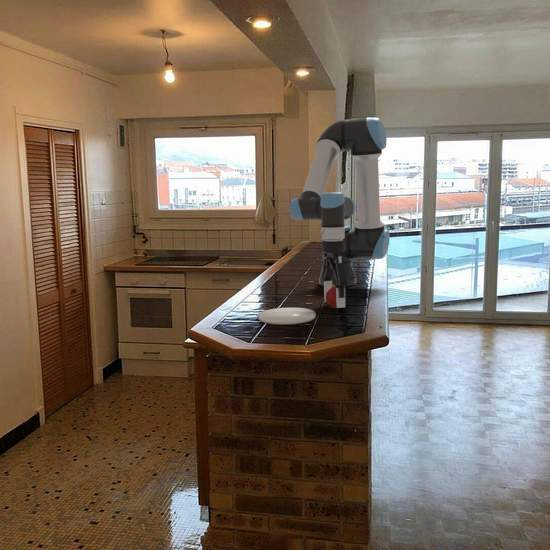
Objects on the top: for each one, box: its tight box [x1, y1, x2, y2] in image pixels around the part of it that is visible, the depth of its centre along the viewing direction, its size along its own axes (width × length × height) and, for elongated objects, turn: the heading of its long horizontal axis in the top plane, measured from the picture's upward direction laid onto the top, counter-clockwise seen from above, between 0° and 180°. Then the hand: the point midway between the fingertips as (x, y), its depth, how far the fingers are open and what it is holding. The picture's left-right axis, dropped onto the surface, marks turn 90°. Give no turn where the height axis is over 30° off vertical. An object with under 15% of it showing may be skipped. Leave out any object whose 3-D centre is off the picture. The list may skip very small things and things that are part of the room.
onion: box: [325, 285, 338, 309], centre depth 197 cm, size 6×6×8 cm
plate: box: [258, 307, 317, 325], centre depth 188 cm, size 18×18×1 cm
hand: (334, 303), depth 198 cm, fingers open, 13 cm apart
